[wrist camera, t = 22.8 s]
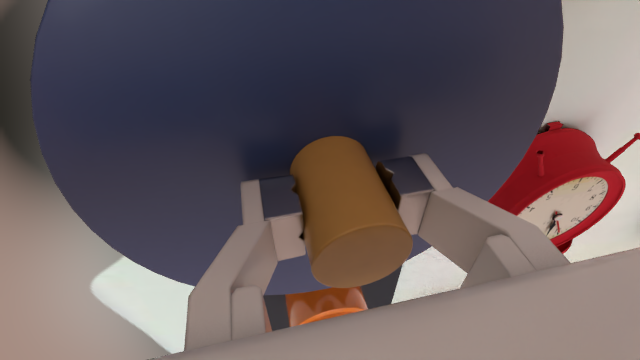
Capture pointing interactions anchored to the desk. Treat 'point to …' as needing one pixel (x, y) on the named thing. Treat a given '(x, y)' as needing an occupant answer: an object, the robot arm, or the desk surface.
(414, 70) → the lid
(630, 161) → the desk surface
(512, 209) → the alarm clock
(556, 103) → the desk surface
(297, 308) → the orange canister
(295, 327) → the robot arm
